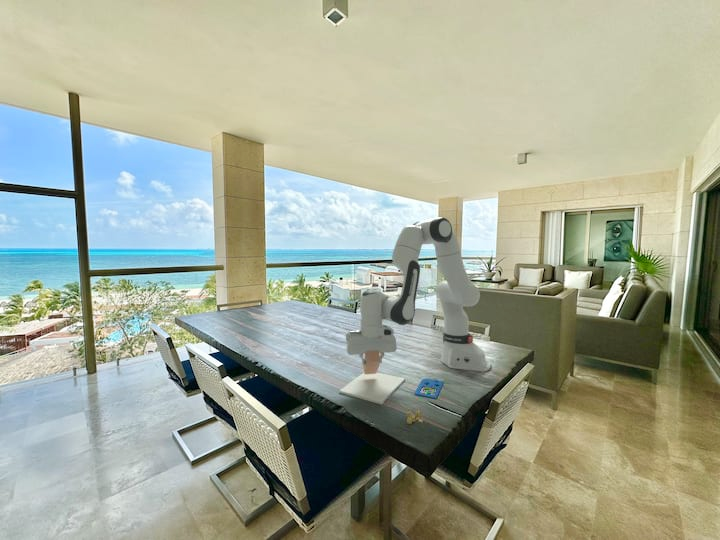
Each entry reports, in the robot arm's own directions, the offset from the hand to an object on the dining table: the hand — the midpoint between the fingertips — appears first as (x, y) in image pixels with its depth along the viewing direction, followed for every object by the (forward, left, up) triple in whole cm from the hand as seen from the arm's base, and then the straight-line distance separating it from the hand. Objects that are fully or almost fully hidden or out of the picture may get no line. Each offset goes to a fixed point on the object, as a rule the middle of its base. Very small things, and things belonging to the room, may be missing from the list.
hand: (371, 363), depth 120 cm
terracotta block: (+3, -4, -4) cm, 7 cm away
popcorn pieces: (-24, +16, -9) cm, 30 cm away
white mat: (-2, +2, -8) cm, 9 cm away
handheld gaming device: (-22, -7, -9) cm, 24 cm away
